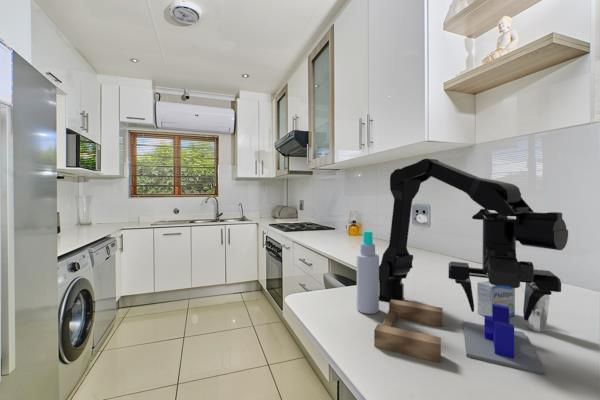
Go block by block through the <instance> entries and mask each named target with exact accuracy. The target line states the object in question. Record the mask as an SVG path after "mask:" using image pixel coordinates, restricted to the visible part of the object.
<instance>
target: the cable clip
mask: <svg viewBox="0 0 600 400" xmlns="http://www.w3.org/2000/svg"><path fill="white" fill-rule="evenodd" d="M483 325H484V330H485V339H489V340H493V342H494V351H495V354H497V355H501V356H505V357H509V358H513V359H514V331H515V325H514V324H512V323H510V317H509V307H508V306H502V305H496V304H492V316H487V315H484V324H483Z"/></svg>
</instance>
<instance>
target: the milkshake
mask: <svg viewBox="0 0 600 400" xmlns="http://www.w3.org/2000/svg"><path fill="white" fill-rule="evenodd" d="M520 288H521V289H522V291H523V293H524V294H525V289H523V286H522V285H520ZM550 298H551V297H550V295H544V296H543V297H541V298H540V299H539V301H538V302H537V303H536V305H535V307H534V309H533V311H532V313H531V315H530V317H529V319H528V320H527V328H528V329H529V330H532V331H533V332H539V333H545V332H547V325H548V324H547V323H548V314H549V306H550V300H551V299H550Z"/></svg>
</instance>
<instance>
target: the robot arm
mask: <svg viewBox="0 0 600 400" xmlns="http://www.w3.org/2000/svg"><path fill="white" fill-rule="evenodd" d="M430 178H434V179H436V180H437V181H440V182H443V183H444V184H447V185H449V186H451V187H453V188H456V189H458V190H459V191H462V192H464V193H465V194H467V195H468V196H469V198H470V199H471V201H473V202H475V204H477V205H479V206H480V207H481V209H479V211H478V212H476V213H475V214H474V215H472V217H471V218H472V220H479V221H480V220H481V221H482V268H478V267H471V266H470V265H469V262H460V261H450V262H449V263H448V279H450V280H454V282H455V283H456V284H457V285H458V284H459V285H461V287H462V289H463V291H464V294H465V295H466V299H467V301H468V304H469V306H470V310H471V312H475V304H474V296H473V289H472V282H471V277H475V278H483V279H488V281H489V283H490V284H492V285H495V286H499V285H501V286H510V287H511V288H515V289H519V288H521V283H525V284H524V285H525V286H524V287H525V288H524V292H525V293H524V298H523V313H522V314H523V320H524V321H527V320H528V319H529V317H530V315H531V313H532V311H533V309H534V307H535V305H536V303H537V302H538V301H539V299H540V298H541V297H543V296H544V295H548V296H551V295H552V293H554V292H555V293H561V292H562V281H561V278H559V277H558V276H557V275H556V274H554V273H553V272H551V271H550V270H544V269H535V268H534V267H535V266H534V264H533V261H532V262H531V261H518V259H517V250H516V249H517V242H519V243H520V245H522V246H525V247H534V248H539V249H540V248H541V249H548V250H553V251H556V250H557V251H563V250H564V248H565V247H566V246H567V242H568V239H569V229H567V225H566V222H565V221H564V219H563V213H562V212H561V211H560V212H557V211H551V212H537V211H536V212H534V210H533V209H532V207H530V206H529V204H528V203H527V202H526V201H525V200H524V199H523V197H522V193H521V191H520V190H521V189H520V187H518V186H517V185H516V184H514V183H510V182H504V181H499V180H495V179H490V178H488V179H487V178H483V177H479V176H476V175H473V174H471V173H469V172H466V171H464V170H461V169H459V168H456V167H454V166H451V165H449V164H446V163H443V162H441V161H440V160H439V159H435V158H423V159H421V160H419V161H417V162H415V163H413V164H409V165H406V166H403V167H402V168H396V169H394V170H393V172H391V173H390V176H389V190H390V193H391V195H392V197H393V209H392V214H391V215H392V217H391V225H390V226H391V227H390V233H389V243H388V247H387V248H386V249H385V251H384V252H383V254H382V258H381V262H380V264H379V301H384V302H390V301H391V299H393V300H399V301H403V300H404V297H405V296H404V295H405V294H404V293H405V289H404V288H405V286H404V285H405V283H403V280H402V279H407V276H408V274H409V273H410V271H411V269H413V260H414V255H413V254H410V253H409V250H408V248H407V246H408V238H409V232H410V230H409V229H410V222H411V213H412V205H413V199H414V198H415V197H416V196H417V194H418V193H419V191H420V187H421V184H423V183H424V182H426V181H428V180H429V179H430ZM491 211H495V212H491ZM513 217H515V218H513Z"/></svg>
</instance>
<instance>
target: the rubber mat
mask: <svg viewBox="0 0 600 400" xmlns="http://www.w3.org/2000/svg"><path fill="white" fill-rule="evenodd" d="M462 329H463V336H464V337H463V339H464V346H465V355H466V357H467V358H471V359H475V360H480V361H484V362H489V363H492V364H497V365H501V366H506V367H510V368H514V369H517V370H523V371H526V372H531V373H535V374H540V375H544V376H545V375H546V371H545V368H544V366H543V365H542V363H541V361H540V359H539V357H538V355H537V354H536V352H535V351H534V349H533V346H532V344H531V343H530V341H529V340H528V337H527V336H526V334H525V331H524V332H523V331H520V330H519V331H518V330H514V359H513V358H509V357H505V356H501V355H497V354H495V351H494V342H493V340H489V339H485V330H484V324H482V323H476V322H470V321H464V320H462Z"/></svg>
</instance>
